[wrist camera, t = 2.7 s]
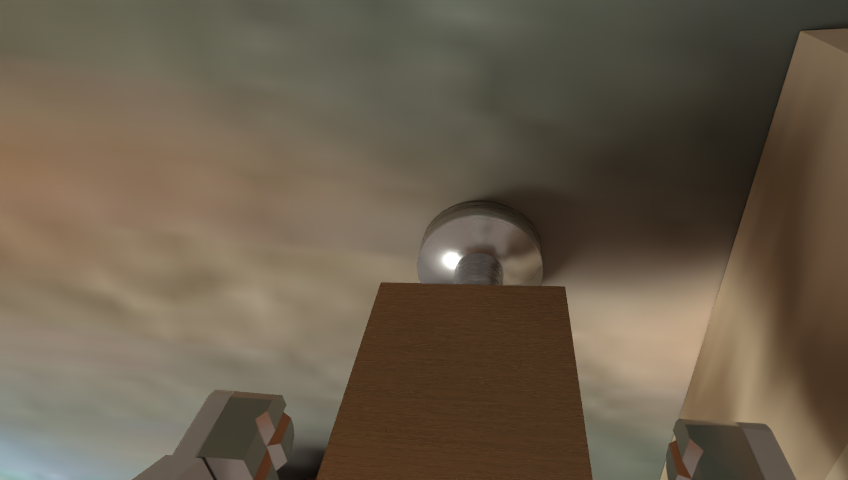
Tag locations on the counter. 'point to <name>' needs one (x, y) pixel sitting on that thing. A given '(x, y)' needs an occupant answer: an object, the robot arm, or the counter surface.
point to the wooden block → (465, 365)
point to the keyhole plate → (790, 278)
